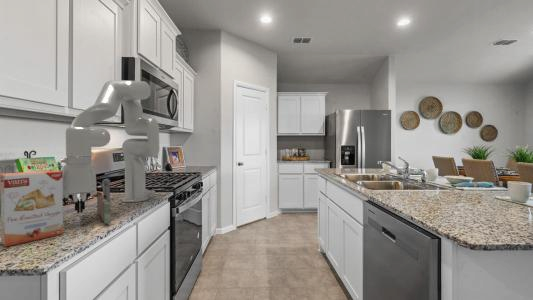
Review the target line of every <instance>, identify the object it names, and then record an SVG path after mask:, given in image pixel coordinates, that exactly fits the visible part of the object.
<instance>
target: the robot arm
mask: <svg viewBox="0 0 533 300" xmlns="http://www.w3.org/2000/svg"><path fill="white" fill-rule="evenodd" d="M151 91H152V89H151V86H150V85H149V83H148V82H146V81H143V80H142V81H141V80H140V81H139V80H138V81H137V80H131V79H130V80H124V79H121V80H120V79H119V80H117V79H115V80H113V79H111V80H107V81H105V83H104V84H103V86H102V88H101V90H100V92H99V95H98V96H97V97H96V98H97V99H96V100H95V102H94V104H92V105H90V106H89V107H88V108H86V109H85V110H83V111H82V112H80V113H79V114H78V115H76V116H75V118H73V120H72V122H71V123H70V125H69V127H67V128H66V129H65V157H64V158H60V163H64V164H65V165H64V166H63V167H62V171H61V172H63V199H64V198H66V199H69V200H71V201H73V202H74V211H75V212H76V214H79V213H81V214H82V213H83V211H84V210H86V205H85V204H86V201H87V200H88V198H89V197H92V196H94V195H98V191H97V173H96V167H95V165H94V164H93V163H92V158H93V157H92V148H102V147H106V146H107V145H108V144H109V143H110V141H111V134H110V132H109V131H108V130H107V129H105V128H104V127H92V126H93V125H95V124H96V123H99V122H102V121H106V120H108V119H111V118H113V117H115V116H116V115H117V113H118V111H119V107H120V105H122V107H123V119H124V121H123V122H124V131H125V133H126V135H128V136H131V137H132V136H134V138H128V139H125V140H124V141H123V143H122V148H121V149H122V153H123V159H124V197H122V198H121V202H122V203H140V202H145V201H147V200H149V198H150V197H149V196H150V195H151V196H152V195H155V194H156V191H155V190H147V189H146V164H145V162H144V160H143V159H142V158H155V157H157V156H158V155H160V154H159V153H160V127H159V122H158V121H157V119H156V118H154V117H151V116H150V117H149V116H145V117H144V113H143V105H142V104H141V103H140V101H141V100H147V99H148V98H149V97H151V93H152V92H151ZM137 136H138V137H140V136H141V137H147V138H135V137H137ZM79 194H80V195H81V194H82V195H81V198H80V199H79V197H78V195H79Z"/></svg>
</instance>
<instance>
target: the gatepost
mask: <svg viewBox="0 0 533 300" xmlns="http://www.w3.org/2000/svg"><path fill="white" fill-rule="evenodd" d="M101 182H102V183H101V184H102V195H103V197H104V198H105V199H106V200H107V201H108V202H110V203H111V186H110V185H111V180H110V179H109V178H103V180H102V181H101Z"/></svg>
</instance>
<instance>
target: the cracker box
mask: <svg viewBox="0 0 533 300" xmlns="http://www.w3.org/2000/svg"><path fill="white" fill-rule="evenodd" d="M63 199H64V197H63V172H62V171H61V170H58V169H57V170H38V171H35V170H33V171H23V172H21V171H20V172H8V173H0V243H1V244H2V245H3V246H4V247H10V246H11V247H12V246H14V245H20V244H24V243H28V242H29V243H30V242H33V241H39V240H42V239H46V238H51V237H57V236H60V235H63V234H64V221H63V219H64V215H63V214H64V209H63V208H64V207H63V206H64V205H63V204H64V202H63V201H64V200H63Z"/></svg>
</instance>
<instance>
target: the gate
mask: <svg viewBox="0 0 533 300" xmlns="http://www.w3.org/2000/svg"><path fill="white" fill-rule="evenodd" d="M96 196H97V197H96V198H97V199H96V200H97V201H96V202H97V203H96V204H97V206H96V207H97V209H96V210H97V213H98V214H99V216H100V218H101V220H102V221H103V223H104V224H105V225H106V224H111V222H112V221H111V220H112V218H111V217H112V216H111V215H112V213H111V211H112V210H111V201H110V202H108V201H107V200H106V199H105V198H104V197H103V193H97V194H96Z"/></svg>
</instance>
